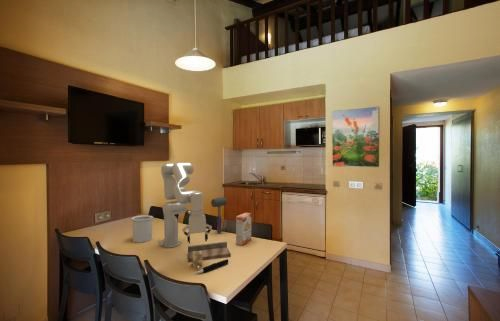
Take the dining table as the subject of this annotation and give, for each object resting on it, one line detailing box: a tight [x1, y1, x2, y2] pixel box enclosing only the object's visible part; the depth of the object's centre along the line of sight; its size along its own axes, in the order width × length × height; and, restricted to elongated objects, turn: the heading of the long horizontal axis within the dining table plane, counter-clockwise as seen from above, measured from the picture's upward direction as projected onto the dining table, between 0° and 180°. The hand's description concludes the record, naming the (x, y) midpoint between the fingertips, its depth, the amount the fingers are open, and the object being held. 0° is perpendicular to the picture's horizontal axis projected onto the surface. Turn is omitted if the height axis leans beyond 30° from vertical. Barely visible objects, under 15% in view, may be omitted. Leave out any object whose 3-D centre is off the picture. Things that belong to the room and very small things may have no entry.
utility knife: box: [193, 258, 229, 274], centre depth 134 cm, size 22×4×3 cm, turn 132°
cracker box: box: [235, 212, 252, 246], centre depth 175 cm, size 14×6×21 cm, turn 153°
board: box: [187, 241, 232, 263], centre depth 153 cm, size 26×14×5 cm, turn 107°
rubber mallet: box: [210, 196, 228, 234], centre depth 198 cm, size 12×8×30 cm, turn 136°
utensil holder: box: [131, 215, 154, 244], centre depth 184 cm, size 15×15×18 cm
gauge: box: [192, 251, 203, 270], centre depth 137 cm, size 5×11×7 cm, turn 17°
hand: (197, 241), depth 139 cm, fingers open, 9 cm apart
